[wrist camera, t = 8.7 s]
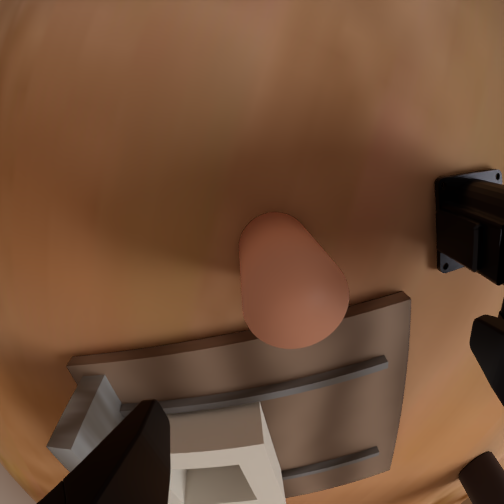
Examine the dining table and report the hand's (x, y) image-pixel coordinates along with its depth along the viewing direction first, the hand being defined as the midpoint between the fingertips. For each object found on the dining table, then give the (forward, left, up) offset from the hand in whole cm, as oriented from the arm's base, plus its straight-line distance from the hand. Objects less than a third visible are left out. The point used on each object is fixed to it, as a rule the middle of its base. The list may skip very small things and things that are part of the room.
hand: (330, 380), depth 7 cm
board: (+4, +16, -11) cm, 20 cm away
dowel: (0, 0, -11) cm, 11 cm away
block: (+8, +15, -10) cm, 20 cm away
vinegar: (-26, +43, -12) cm, 52 cm away
